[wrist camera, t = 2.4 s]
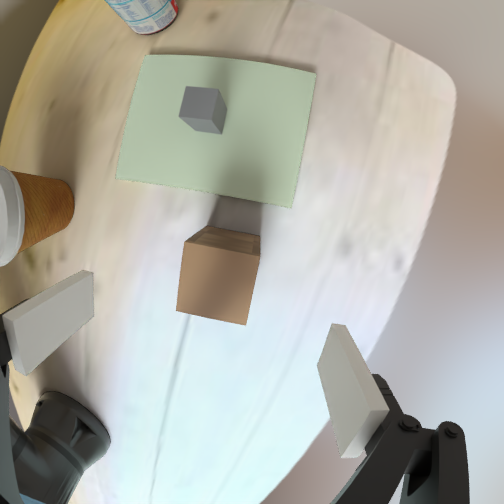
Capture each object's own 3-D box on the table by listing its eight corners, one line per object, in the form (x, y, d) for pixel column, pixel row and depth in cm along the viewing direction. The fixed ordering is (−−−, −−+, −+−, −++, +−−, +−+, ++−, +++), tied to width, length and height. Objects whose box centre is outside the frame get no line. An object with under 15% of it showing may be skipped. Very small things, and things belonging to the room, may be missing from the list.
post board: (119, 179, 27) (83, 178, 20) (148, 58, 24) (122, 31, 17) (290, 207, 28) (299, 214, 21) (314, 77, 24) (329, 48, 18)
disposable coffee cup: (47, 154, 27) (-24, 150, 15) (96, 187, 28) (22, 192, 16) (24, 220, 29) (-42, 237, 17) (69, 258, 29) (2, 290, 18)
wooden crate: (198, 277, 29) (175, 310, 21) (206, 225, 28) (184, 241, 20) (249, 287, 29) (245, 325, 21) (260, 236, 28) (260, 256, 20)
